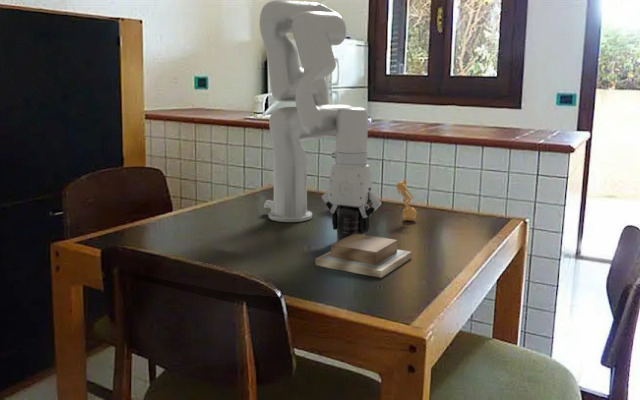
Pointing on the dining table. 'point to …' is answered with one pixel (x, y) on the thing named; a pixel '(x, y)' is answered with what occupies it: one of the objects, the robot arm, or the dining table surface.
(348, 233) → the supplement bottle
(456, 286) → the dining table surface
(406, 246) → the dining table surface
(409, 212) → the figurine
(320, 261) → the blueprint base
